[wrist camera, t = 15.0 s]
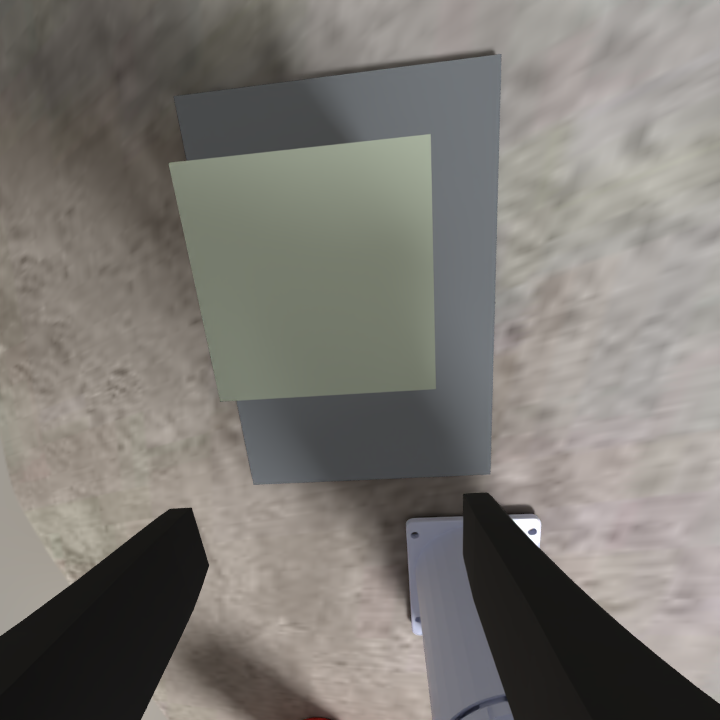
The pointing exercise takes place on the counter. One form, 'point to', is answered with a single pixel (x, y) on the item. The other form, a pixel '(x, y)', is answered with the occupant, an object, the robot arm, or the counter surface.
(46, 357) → the counter surface
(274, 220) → the sage block
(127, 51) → the counter surface
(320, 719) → the paper cup
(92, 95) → the counter surface
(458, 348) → the mat
